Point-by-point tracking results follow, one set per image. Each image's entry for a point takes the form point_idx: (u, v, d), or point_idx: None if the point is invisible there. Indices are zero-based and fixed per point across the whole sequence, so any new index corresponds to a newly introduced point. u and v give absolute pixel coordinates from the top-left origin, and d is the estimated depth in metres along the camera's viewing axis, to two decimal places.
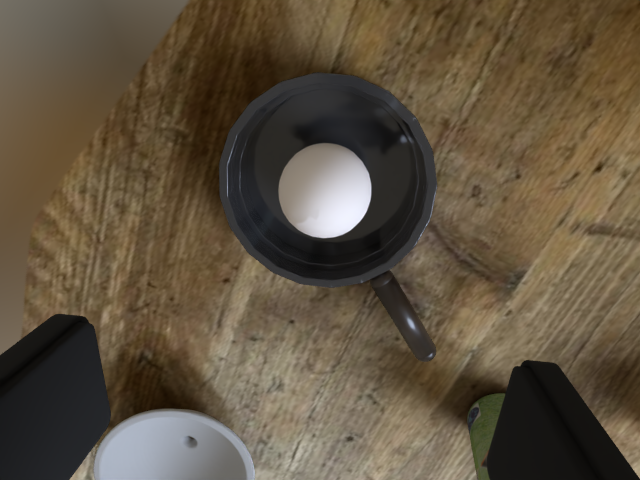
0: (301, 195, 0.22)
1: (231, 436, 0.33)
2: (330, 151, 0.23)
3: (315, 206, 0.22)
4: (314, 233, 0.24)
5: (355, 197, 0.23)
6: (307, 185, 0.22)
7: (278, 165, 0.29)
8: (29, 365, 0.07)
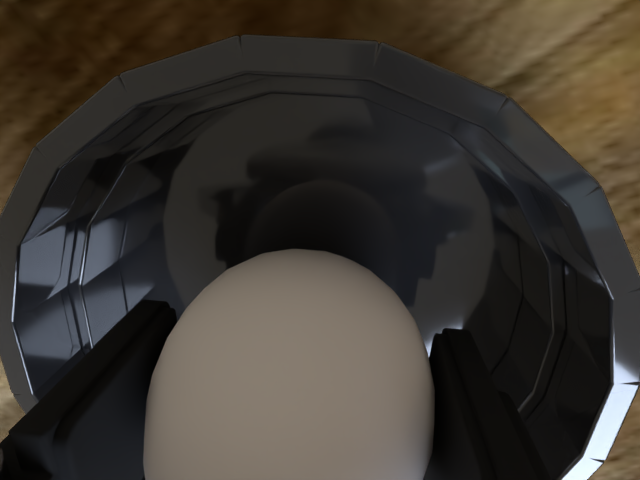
0: None
1: None
2: (392, 355, 0.07)
3: None
4: None
5: None
6: None
7: (224, 214, 0.11)
8: (133, 343, 0.08)
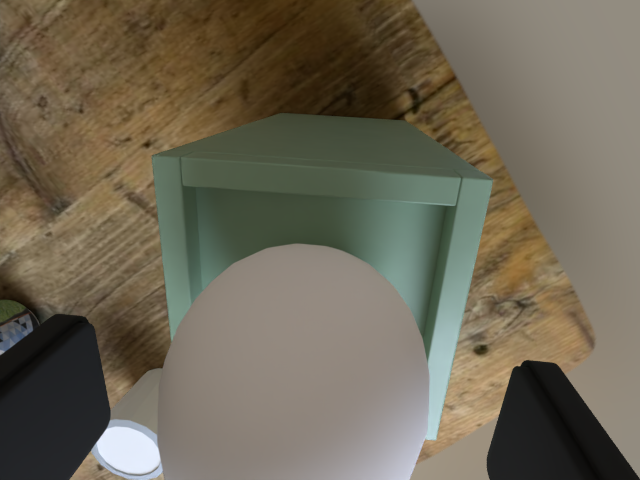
0: (228, 475, 0.06)
1: None
2: (389, 341, 0.07)
3: None
4: None
5: None
6: (269, 458, 0.06)
7: None
8: (29, 365, 0.07)
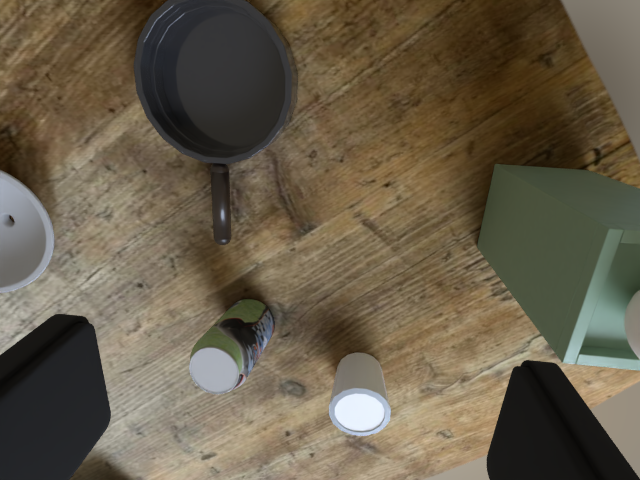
0: None
1: (46, 221, 0.40)
2: None
3: None
4: None
5: None
6: None
7: (196, 50, 0.37)
8: (29, 365, 0.07)
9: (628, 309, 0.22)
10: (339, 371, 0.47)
